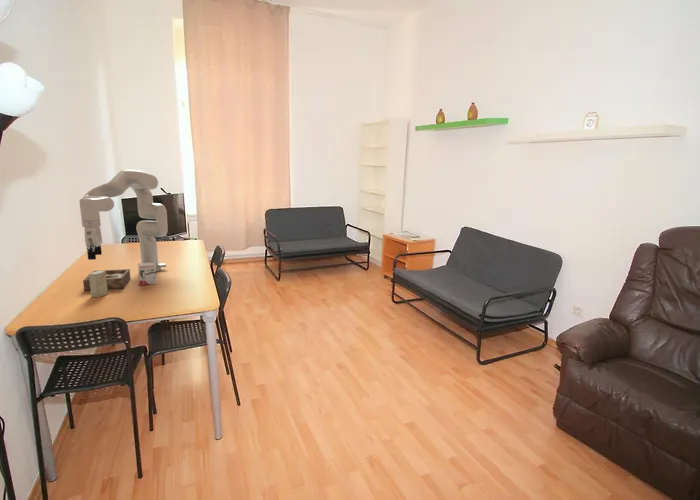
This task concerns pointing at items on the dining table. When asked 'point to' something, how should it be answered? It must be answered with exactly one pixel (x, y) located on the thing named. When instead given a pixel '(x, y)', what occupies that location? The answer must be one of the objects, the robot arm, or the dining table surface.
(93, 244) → the robot arm
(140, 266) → the ink box
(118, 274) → the bore box
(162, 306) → the dining table surface
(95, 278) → the skincare box
